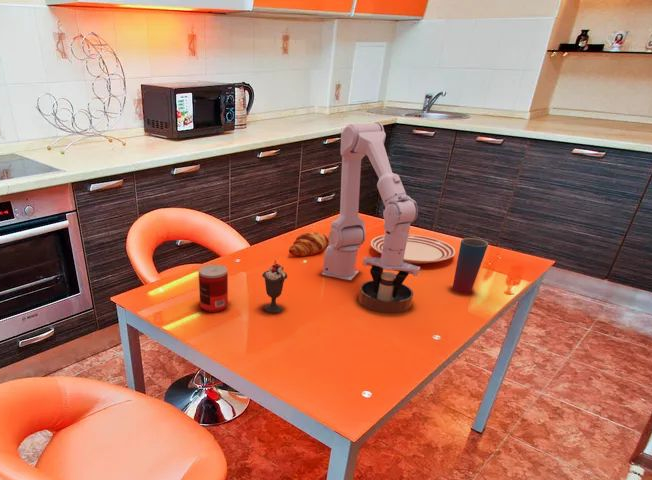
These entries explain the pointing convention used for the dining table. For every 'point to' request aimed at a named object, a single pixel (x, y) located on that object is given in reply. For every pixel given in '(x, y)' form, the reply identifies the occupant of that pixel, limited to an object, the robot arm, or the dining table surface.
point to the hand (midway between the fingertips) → (385, 293)
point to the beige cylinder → (386, 286)
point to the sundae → (274, 286)
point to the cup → (468, 264)
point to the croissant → (309, 244)
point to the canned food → (213, 287)
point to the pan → (390, 307)
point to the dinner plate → (420, 249)
